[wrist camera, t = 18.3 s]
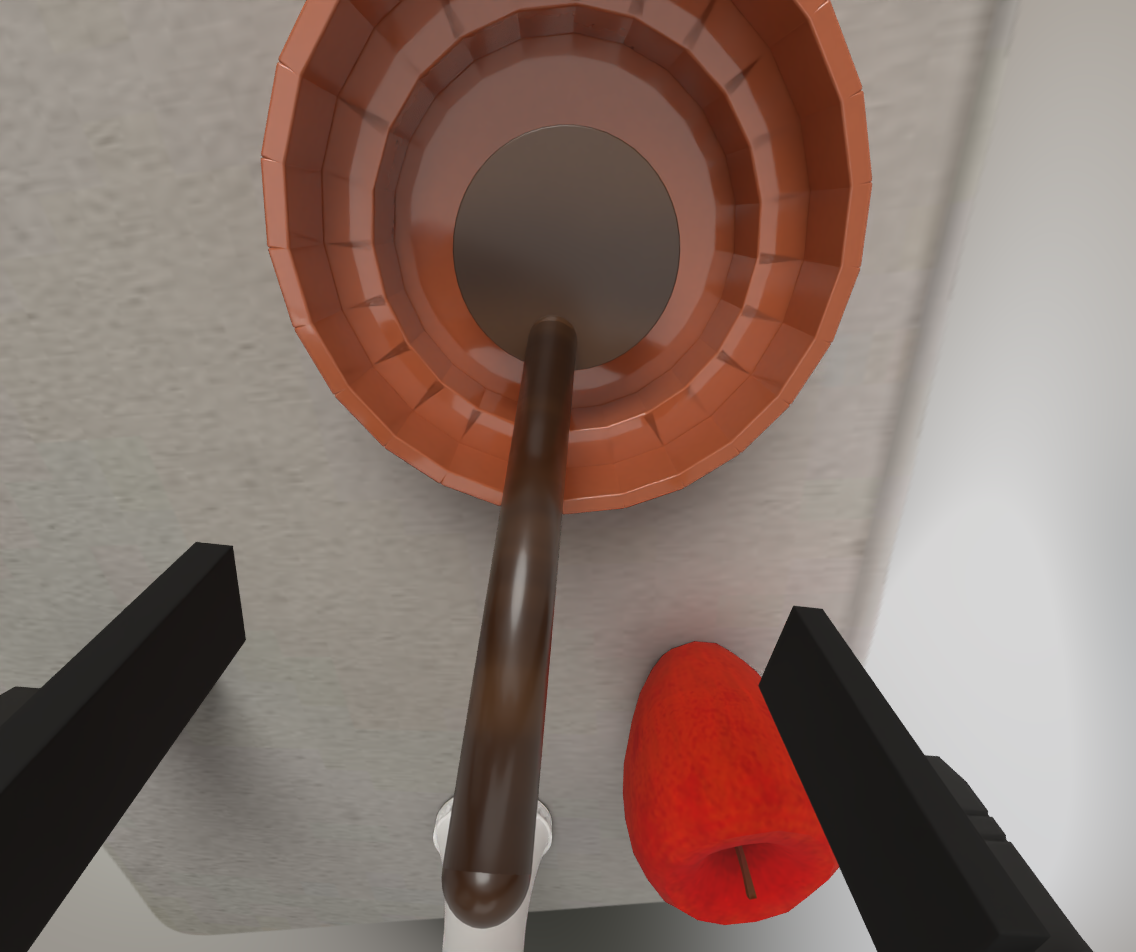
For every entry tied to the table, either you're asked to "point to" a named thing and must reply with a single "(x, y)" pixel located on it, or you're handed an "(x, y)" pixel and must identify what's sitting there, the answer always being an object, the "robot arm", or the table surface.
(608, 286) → the ladle
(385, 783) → the table surface
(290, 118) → the bowl
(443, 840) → the vase
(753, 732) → the apple
